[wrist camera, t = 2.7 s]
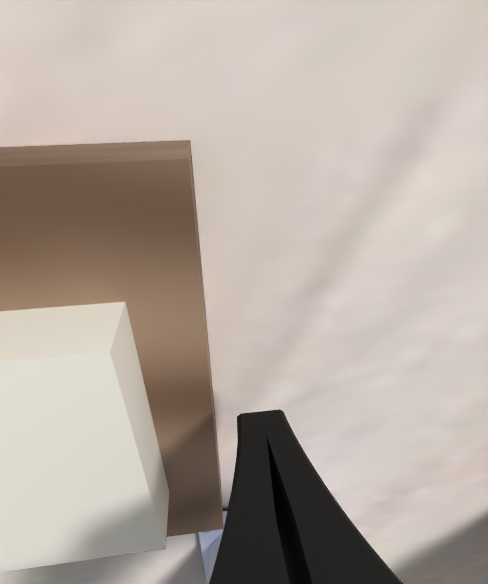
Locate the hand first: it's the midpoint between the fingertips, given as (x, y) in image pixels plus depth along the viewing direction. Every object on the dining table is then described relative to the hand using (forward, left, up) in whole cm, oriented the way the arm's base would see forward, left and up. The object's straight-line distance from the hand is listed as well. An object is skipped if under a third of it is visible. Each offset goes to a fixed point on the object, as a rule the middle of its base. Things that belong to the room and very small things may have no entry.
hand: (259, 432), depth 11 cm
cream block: (0, +6, -1) cm, 6 cm away
